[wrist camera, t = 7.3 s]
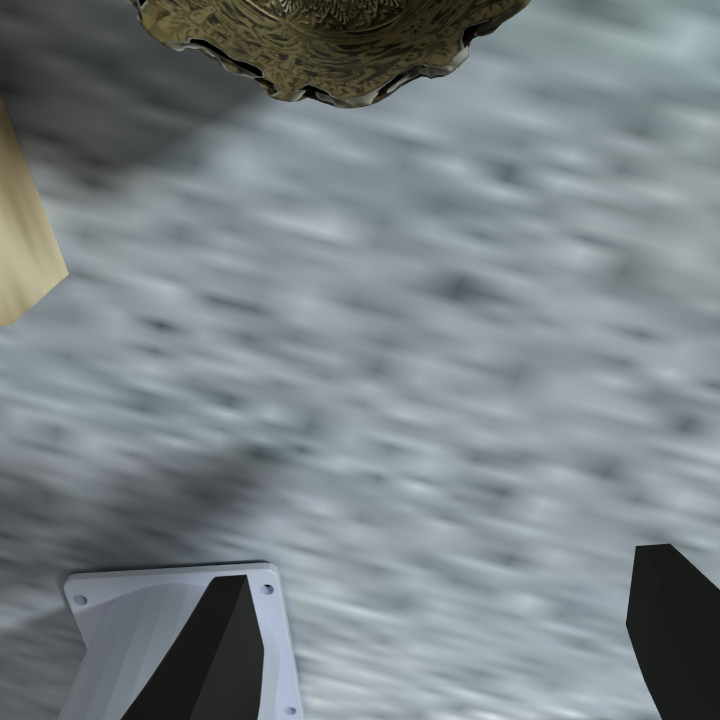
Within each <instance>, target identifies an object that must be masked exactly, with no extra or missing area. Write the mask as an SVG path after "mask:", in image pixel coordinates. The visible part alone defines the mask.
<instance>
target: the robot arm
mask: <svg viewBox="0 0 720 720" xmlns="http://www.w3.org/2000/svg"><path fill="white" fill-rule="evenodd" d="M264 585H271V586H270V587H267V586H264ZM63 587H64V592H65V595H66V597H67V600H68V602H69V605H70V607H71V610H72V613H73V615H74V618H75V620H76V623H77V626H78V628H79V631H80V633H81V636H82V639H83V641H84V644H85V646H86V649H87V651H86V654H85V656H84V658H83V661H82V663H81V665H80V668H79V670H78V672H77V675H76V677H75V679H74V682H73V684H72V686H71V689H70V691H69V693H68V696H67V698H66V700H65V703H64V705H63V707H62V710H61V712H60V714H59V717H58V719H57V720H305V713H304V708H303V702H302V696H301V691H300V685H299V679H298V674H297V668H296V662H295V657H294V651H293V645H292V640H291V634H290V628H289V623H288V617H287V611H286V606H285V600H284V594H283V589H282V583H281V577H280V572H279V570H278V568H277V567H276V566H275V565H273V564H270V563H250V564H232V565H215V566H198V567H181V568H163V569H146V570H129V571H112V572H94V573H77V574H72V575H70V576H69V577H68V578H67V580H66V582H65V584H64V586H63ZM80 595H81V596H80ZM82 596H84V597H82ZM626 627H627V630H628V633H629V636H630V639H631V642H632V646H633V649H634V652H635V655H636V658H637V661H638V664H639V666H640V669H641V672H642V675H643V678H644V681H645V683H646V685H647V687H648V690H649V692H650V694H651V696H652V698H653V701H654V703H655V705H656V707H657V709H658V711H659V714H660V716H661V718H662V720H720V590H719V589H718V588H717V587H716V586H715V585H714V584H713V583H712V582H711V581H710V580H709V579H708V578H707V577H705V576H704V575H703V574H702V573H701V572H700V571H699V570H698V569H697V568H696V567H695V566H694V565H693V564H692V563H690V562H689V561H688V560H687V559H686V558H685V557H684V556H683V555H682V554H681V553H680V552H679V551H678V550H676V549H675V548H674V547H673V546H672V545H671V544H659V545H645V546H636V550H635V558H634V565H633V573H632V581H631V589H630V596H629V604H628V612H627V619H626Z"/></svg>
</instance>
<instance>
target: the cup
mask: <svg viewBox="0 0 720 720" xmlns="http://www.w3.org/2000/svg"><path fill="white" fill-rule="evenodd" d="M127 1H128V2H129V3H131V4H132V5H133V6H134V7H136V8H137V9H138V10H139V11H138V13H137V18H138V22H139V23H140V24H141V25H142V26H143V28H144V29H145V30H146V31H147V32H148V33H149V34H150V35H151V36H152V37H153V38H155V39H156V40H157V41H158V42H160V43H161V44H163V45H164V46H166V47H168V48H170V49H173V50H175V51H178V52H182V51H183V50H185V49H188V50H193V51H194V50H195V51H200V52H202V53H204V54H205V55H207V56H208V57H210V58H212V59H214V60H216V61H217V62H218V63H219V64H221V65H222V66H223V67H224V68H225V70H227V71H228V72H230V73H233V74H236V75H240V76H247V77H249V78H252V79H254V80H256V81H258V82H259V84H260V85H261V87H262V88H264V89H266V91H267V95H269V96H270V97H272V98H274V99H277V100H281V101H288V102H296V101H301V100H303V99H305V98H311V99H315V100H318V101H320V102H323V103H326V104H329V105H332V106H335V107H337V108H358V107H364V106H368V105H372V104H374V103H377V102H379V101H381V100H383V99H384V98H386V97H388V96H390V95H391V94H392V93H394V92H395V91H396V90H398V89H399V88H400V87H401V86H403V85H405V84H407V83H408V82H410V81H412V80H415V79H417V78H419V77H422V76H423V77H428V78H430V79H432V78H436V77H443V76H446V75H448V74H450V73H452V72H453V71H454V70H455V69H456V68H458V67H459V66H460V65H461V64H462V63H463V62H464V61H465V60H466V59H467V58H468V57H469V53H468V48H469V46H470V42H471V40H472V39H474V38H475V37H477V36H484V35H488V34H491V33H493V32H494V31H495V30H496V29H497V28H498V27H499V26H500V25H501V24H502V23H503V22H505V21H506V20H508V19H510V18H511V17H513V16H514V15H516V14H517V13H519V12H520V11H521V10H522V9H524V8H525V7H526V6H527V5H528V3H529V2H530V1H531V0H127Z"/></svg>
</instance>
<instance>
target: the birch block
mask: <svg viewBox="0 0 720 720" xmlns="http://www.w3.org/2000/svg"><path fill="white" fill-rule="evenodd" d="M68 274H69V273H68V270H67V268H66V265H65V263H64V260H63V257H62V255H61V252H60V250H59V247H58V244H57V242H56V239H55V236H54V234H53V231H52V229H51V226H50V223H49V221H48V218H47V216H46V213H45V210H44V208H43V205H42V202H41V200H40V197H39V195H38V192H37V189H36V187H35V184H34V181H33V179H32V176H31V174H30V171H29V168H28V166H27V163H26V161H25V158H24V155H23V153H22V150H21V147H20V145H19V142H18V140H17V137H16V134H15V132H14V129H13V127H12V124H11V121H10V119H9V116H8V113H7V111H6V108H5V106H4V103H3V100H2V98H1V95H0V326H4V325H10V324H13V323H14V322H15V321H16V320H17V319H18V318H20V317H21V316H22V315H23V314H24V313H25V312H26V311H27V310H29V309H30V308H31V307H32V306H33V305H34V304H35V303H37V302H38V301H39V300H40V299H41V298H42V297H43V296H45V295H46V294H47V293H48V292H49V291H50V290H51V289H52V288H54V287H55V286H56V285H57V284H58V283H59V282H60V281H62V280H63V279H64V278H65V277H66V276H67V275H68Z"/></svg>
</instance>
